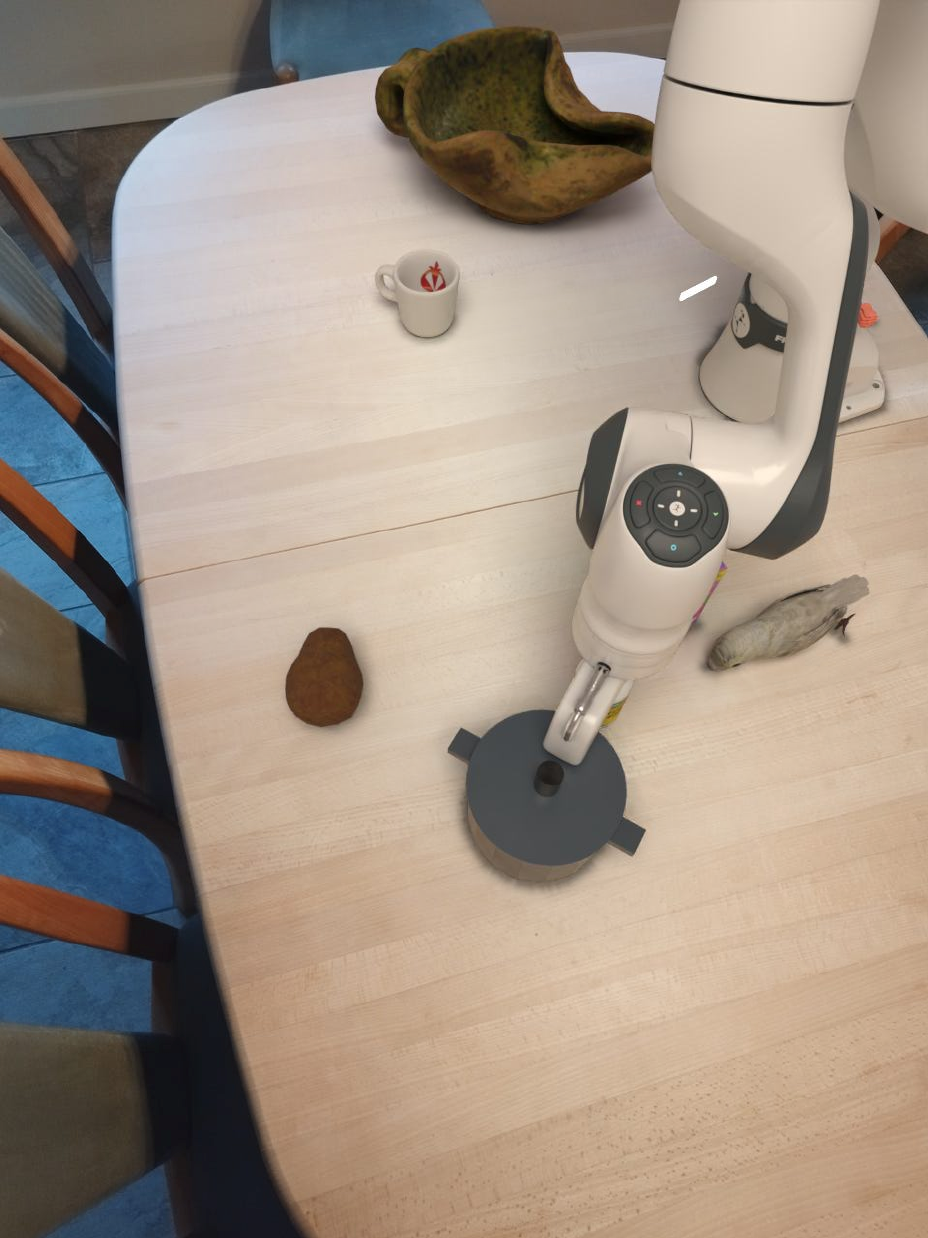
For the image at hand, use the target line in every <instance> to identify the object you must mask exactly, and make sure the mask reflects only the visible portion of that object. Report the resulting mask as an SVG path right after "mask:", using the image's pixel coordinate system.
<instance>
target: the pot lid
mask: <svg viewBox="0 0 928 1238" xmlns="http://www.w3.org/2000/svg"><path fill="white" fill-rule="evenodd" d="M555 712H556V710H555V709H530V710H525V711H521V712H517V713H514V714H512V715H509V716H507V717H505V718H503V719H502V720H500V721H498V722H497V723H496V724H494V725H493V726H492V727H491V728H490V729H488V730H487V732H485V734H483V736H482V737H480V738H481V740H480V741H479V743H478V744H477V745H476V747H475V749H474V751H473V753H472V755H471V758H470V761H469V764H467V769H466V775H465V795H466V796H465V797H466V800H467V807H468V806H469V809H470V811H471V814H472V817H473V819H474V821H475V823H476V825H477V826H478V828H479V829H480V831H481V832H482V834H483V835H484V836H485V837H486V838H487V840H488V841H489V842H490V843H491V844H492V845H493V846H495V847H496V848H497V849H498V850H499V851H501V852H502V853H504V854H505V855H507V856H509V857H511V858H513V859H515V860H517V861H519V862H522V863H525V864H528V865H533V866H537V867H549V868H550V867H562V866H567V865H572V864H575V863H578V862H581V861H583V860H585V859H587V858H589V857H591V856H592V855H593V854H594V855H596V854H597V853H598V852H599V851H601V849H603V848H604V846H606V845H607V844H608V843H607V842H608V841H609V840H610V839H611V837H612V836H613V835H614V833H615V831H616V830H617V828H618V826H619V824H620V822H621V820H622V817H624V813H625V809H626V806H627V797H628V791H627V790H628V789H627V787H628V785H627V779H626V773H625V771H624V767H623V764H622V762H621V760H620V757H619V755H618V753H617V752H616V749H614V748H615V747H613V745H612V744H611V743H610V742H609V740H608V739H607V738H606V737H605V736H604V735H603V734H602V732H600V730H599V731H598V733H597V735H596V737H595V739H594V741H593V742H592V744H591V746H590V748H589V750H588V752H587V754H586V755H585V757H584V759H583V760H582V762H581V763H580V764H578V765H572V764H570V763H568V762H565V761H563V760H561V759H560V758H558V757H556V756H554V755H553V754H551V753H550V752H548V751H547V750H546V749H545V748H544V746H543V742H544V739H545V736H546V734H547V731H548V729H549V726H550V724H551V721H552V719H553V716H554V714H555ZM594 855H593V856H594ZM593 856H592V857H593ZM592 857H591V858H592Z"/></svg>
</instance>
